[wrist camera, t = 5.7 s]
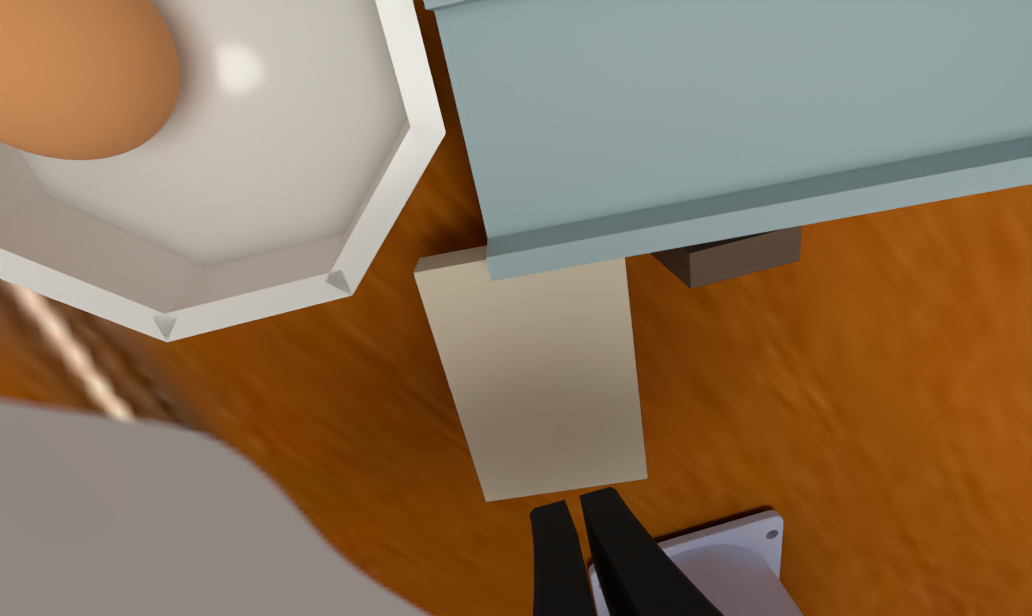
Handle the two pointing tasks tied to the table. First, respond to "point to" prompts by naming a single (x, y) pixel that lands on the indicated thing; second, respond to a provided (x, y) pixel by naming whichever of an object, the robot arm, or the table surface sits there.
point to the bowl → (237, 171)
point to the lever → (680, 178)
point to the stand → (732, 256)
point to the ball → (84, 76)
